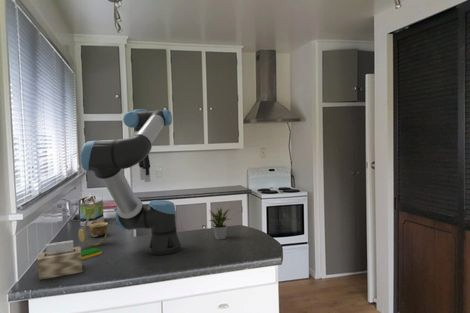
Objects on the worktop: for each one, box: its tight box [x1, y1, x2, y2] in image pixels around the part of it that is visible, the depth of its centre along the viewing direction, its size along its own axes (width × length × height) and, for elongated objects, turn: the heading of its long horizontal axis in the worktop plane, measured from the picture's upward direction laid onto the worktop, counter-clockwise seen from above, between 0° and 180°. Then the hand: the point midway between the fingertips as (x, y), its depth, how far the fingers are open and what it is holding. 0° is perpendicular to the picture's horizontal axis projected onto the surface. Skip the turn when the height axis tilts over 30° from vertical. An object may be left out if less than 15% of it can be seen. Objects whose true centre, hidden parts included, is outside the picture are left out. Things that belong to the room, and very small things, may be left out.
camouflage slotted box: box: [37, 245, 83, 281], centre depth 150 cm, size 16×10×8 cm
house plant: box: [208, 207, 232, 240], centre depth 187 cm, size 14×14×16 cm
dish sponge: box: [81, 247, 103, 261], centre depth 170 cm, size 7×14×2 cm, turn 141°
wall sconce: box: [78, 197, 109, 247], centre depth 187 cm, size 14×10×25 cm
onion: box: [89, 221, 108, 238], centre depth 208 cm, size 10×9×10 cm
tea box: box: [79, 199, 105, 227], centre depth 243 cm, size 15×10×15 cm, turn 179°
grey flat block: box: [45, 239, 75, 256], centre depth 150 cm, size 10×3×9 cm, turn 114°
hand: (145, 180), depth 189 cm, fingers open, 13 cm apart
